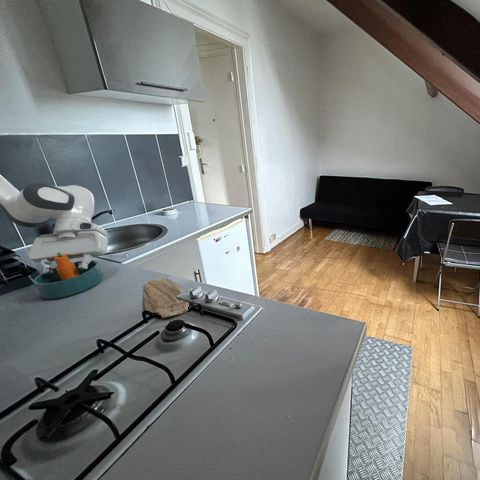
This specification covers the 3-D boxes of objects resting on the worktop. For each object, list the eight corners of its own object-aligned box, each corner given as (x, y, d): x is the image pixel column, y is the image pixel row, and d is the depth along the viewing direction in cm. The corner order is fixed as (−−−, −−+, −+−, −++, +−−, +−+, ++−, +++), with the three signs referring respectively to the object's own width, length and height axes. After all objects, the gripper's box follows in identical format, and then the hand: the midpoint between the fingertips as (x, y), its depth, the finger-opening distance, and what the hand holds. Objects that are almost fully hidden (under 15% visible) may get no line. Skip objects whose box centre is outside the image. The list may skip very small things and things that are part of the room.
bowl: (52, 305, 74) (43, 289, 72) (34, 292, 82) (26, 277, 79) (112, 280, 86) (106, 265, 84) (92, 270, 93) (86, 257, 91)
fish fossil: (131, 289, 80) (130, 286, 79) (167, 277, 87) (166, 274, 86) (162, 323, 63) (160, 319, 63) (203, 305, 70) (202, 301, 70)
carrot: (68, 289, 81) (51, 256, 77) (63, 286, 83) (46, 254, 79) (84, 282, 84) (69, 250, 80) (79, 279, 86) (64, 248, 82)
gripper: (27, 231, 81) (16, 273, 76) (100, 223, 85) (94, 263, 80) (44, 239, 87) (35, 279, 82) (112, 231, 91) (107, 269, 86)
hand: (65, 271), depth 81 cm, fingers open, 8 cm apart
